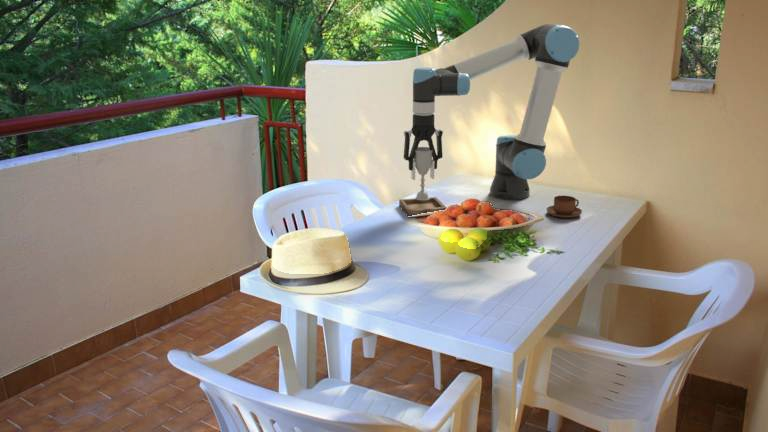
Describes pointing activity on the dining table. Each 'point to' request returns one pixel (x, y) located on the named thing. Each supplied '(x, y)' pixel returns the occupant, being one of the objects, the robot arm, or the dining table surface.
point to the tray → (421, 205)
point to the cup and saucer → (564, 207)
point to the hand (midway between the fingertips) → (422, 178)
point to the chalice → (423, 168)
